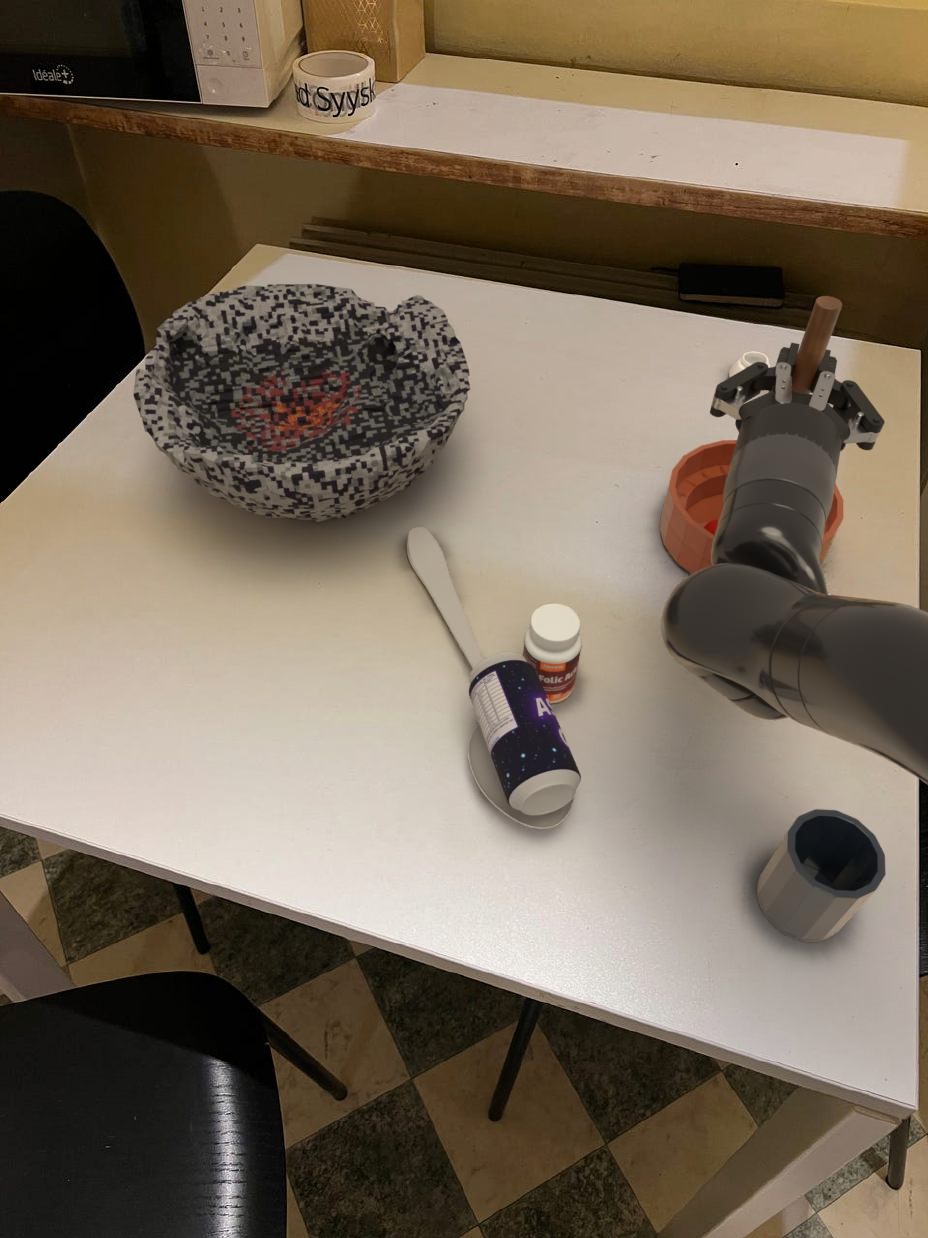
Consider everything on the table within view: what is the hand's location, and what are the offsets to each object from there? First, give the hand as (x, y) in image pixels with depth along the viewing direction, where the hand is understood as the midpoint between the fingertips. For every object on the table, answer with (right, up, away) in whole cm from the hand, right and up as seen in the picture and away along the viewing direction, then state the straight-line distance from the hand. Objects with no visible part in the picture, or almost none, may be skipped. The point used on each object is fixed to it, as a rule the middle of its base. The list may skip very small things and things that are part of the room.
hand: (807, 355), depth 74 cm
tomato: (-5, -14, +11) cm, 18 cm away
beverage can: (-23, -36, -12) cm, 44 cm away
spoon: (-29, -27, +3) cm, 40 cm away
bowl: (-45, -7, +19) cm, 49 cm away
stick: (-1, -11, +9) cm, 14 cm away
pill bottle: (-22, -28, +2) cm, 36 cm away
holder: (-5, -43, -11) cm, 45 cm away
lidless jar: (+5, +6, +31) cm, 32 cm away
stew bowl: (-2, -14, +13) cm, 20 cm away
